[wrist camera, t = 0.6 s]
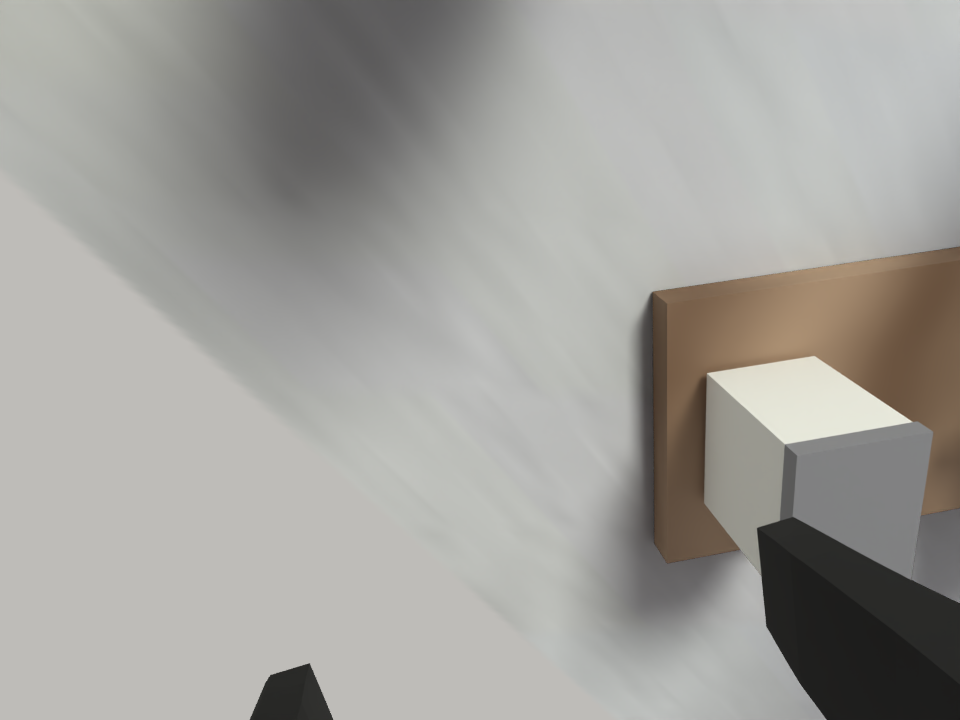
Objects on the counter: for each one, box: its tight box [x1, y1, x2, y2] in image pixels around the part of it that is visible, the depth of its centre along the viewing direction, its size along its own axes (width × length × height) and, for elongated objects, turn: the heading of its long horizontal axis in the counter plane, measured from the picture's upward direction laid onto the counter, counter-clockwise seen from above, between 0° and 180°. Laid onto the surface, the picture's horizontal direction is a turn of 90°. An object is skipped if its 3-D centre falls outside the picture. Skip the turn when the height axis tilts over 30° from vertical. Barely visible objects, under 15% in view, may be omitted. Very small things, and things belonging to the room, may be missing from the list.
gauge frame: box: [653, 247, 960, 563], centre depth 21 cm, size 14×8×6 cm, turn 95°
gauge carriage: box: [704, 356, 933, 580], centre depth 20 cm, size 3×6×4 cm, turn 5°
